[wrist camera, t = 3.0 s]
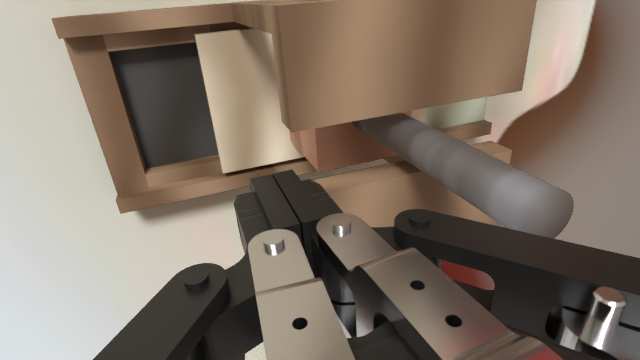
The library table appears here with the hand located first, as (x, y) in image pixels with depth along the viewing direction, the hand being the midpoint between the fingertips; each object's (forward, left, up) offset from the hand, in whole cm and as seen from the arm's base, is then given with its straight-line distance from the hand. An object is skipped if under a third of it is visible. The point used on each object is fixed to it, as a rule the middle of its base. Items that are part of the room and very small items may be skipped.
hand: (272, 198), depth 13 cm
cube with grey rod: (+5, +5, -14) cm, 16 cm away
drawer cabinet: (+5, +5, -16) cm, 18 cm away
